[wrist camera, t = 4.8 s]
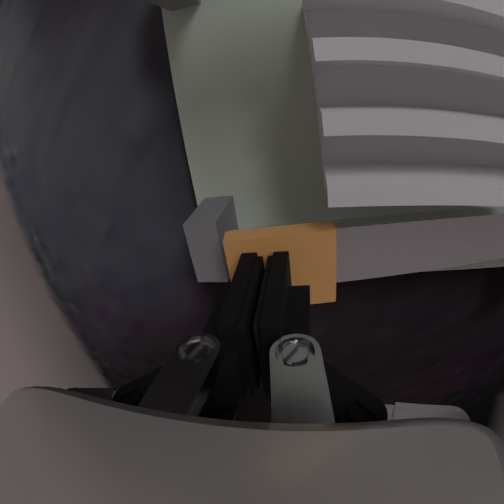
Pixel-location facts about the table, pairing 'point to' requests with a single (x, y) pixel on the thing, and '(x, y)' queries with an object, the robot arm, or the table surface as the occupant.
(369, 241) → the strap
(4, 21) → the table surface
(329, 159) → the cooler board
